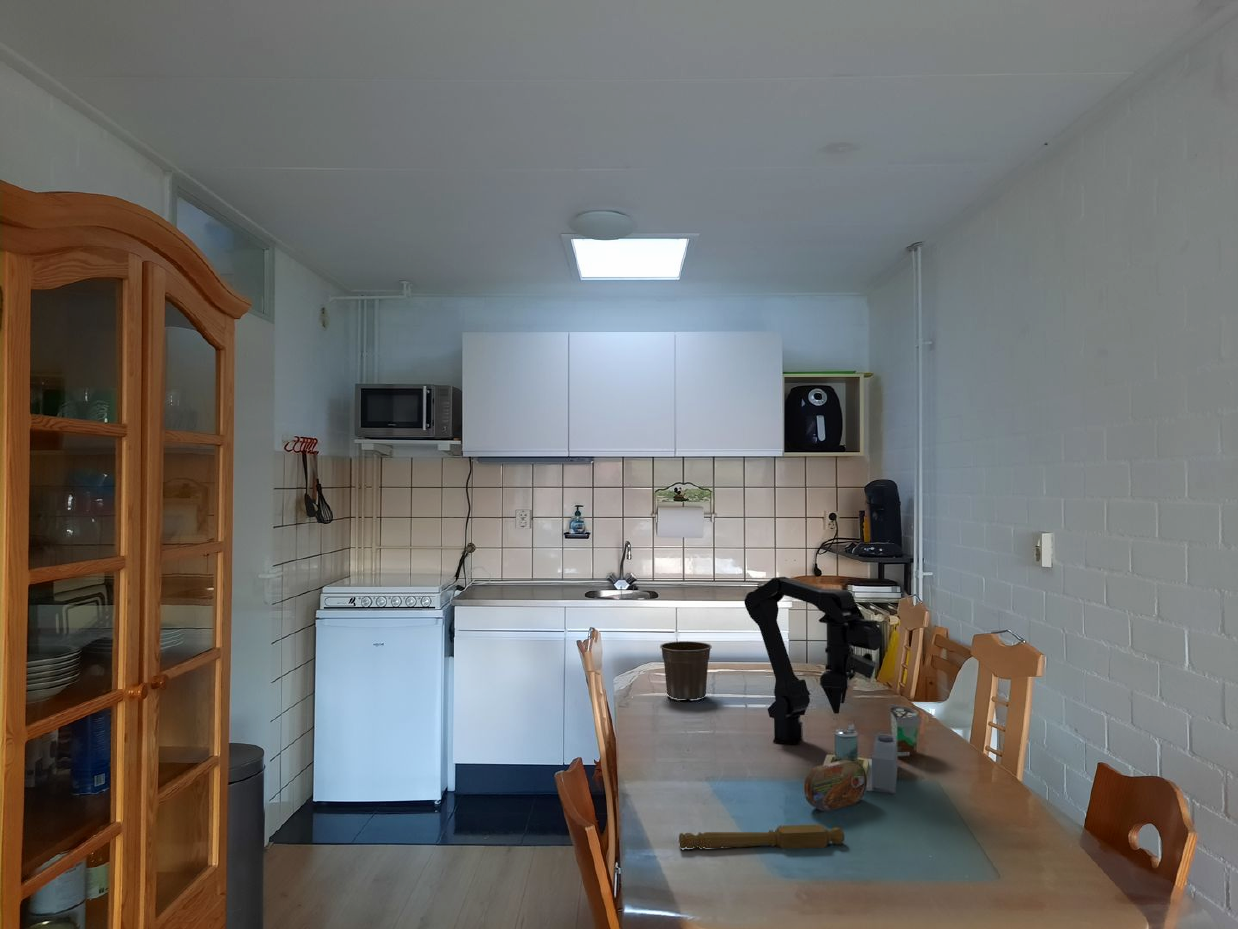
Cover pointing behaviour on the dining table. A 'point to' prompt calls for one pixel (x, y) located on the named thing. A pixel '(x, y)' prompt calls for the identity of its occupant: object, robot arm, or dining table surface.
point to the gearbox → (879, 764)
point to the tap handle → (767, 838)
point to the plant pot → (686, 668)
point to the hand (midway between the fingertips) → (839, 708)
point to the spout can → (846, 744)
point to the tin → (835, 785)
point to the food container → (904, 730)
